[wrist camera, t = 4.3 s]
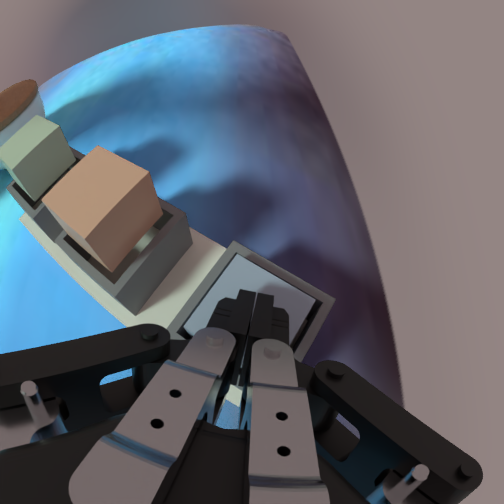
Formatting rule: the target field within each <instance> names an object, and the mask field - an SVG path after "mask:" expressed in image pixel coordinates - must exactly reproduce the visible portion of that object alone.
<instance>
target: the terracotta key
mask: <svg viewBox="0 0 504 504" xmlns="http://www.w3.org/2000/svg"><path fill="white" fill-rule="evenodd" d="M41 200H42V202H43V203H44V204H45V206H46V207H47V208H48V210H49V211H50V212H51V214H52V215H53V216H54V218H55V219H56V220H57V221H58V223H59V224H60V225H61V226H62V228H63V229H64V230H65V231H66V233H67V234H68V235H69V236H70V237H71V238H72V239H74V240H75V241H76V242H77V243H78V244H79V245H80V246H81V247H82V248H84V249H85V250H86V251H87V252H88V253H89V254H90V255H92V256H93V257H94V258H95V259H96V260H97V261H99V262H100V263H101V264H102V265H103V266H105V267H106V268H107V269H108V270H109V271H111V272H113V271H114V270H115V269H116V267H117V266H118V265H119V264H120V263H121V261H122V260H123V259H124V258H125V257H126V255H127V254H128V253H129V252H130V251H131V250H132V248H133V247H134V246H135V245H136V244H137V243H138V242H139V240H140V239H141V238H142V237H143V236H144V235H145V234H146V232H147V231H148V230H149V229H150V228H151V227H152V226H153V225H154V223H155V222H156V221H157V220H158V219H159V218H160V217H161V216H162V215H163V212H162V209H161V206H160V203H159V200H158V197H157V194H156V191H155V188H154V185H153V182H152V179H151V175H150V172H149V171H147V170H145V169H143V168H141V167H139V166H137V165H135V164H133V163H131V162H130V161H128V160H126V159H124V158H122V157H120V156H118V155H116V154H114V153H112V152H110V151H108V150H106V149H104V148H102V147H100V146H96V147H95V148H94V149H93V150H92V151H91V152H90V153H88V154H87V155H86V156H85V157H84V158H83V159H82V160H81V161H80V162H79V163H77V164H76V165H75V166H74V167H73V168H72V169H71V170H70V171H69V172H68V173H67V174H66V175H65V176H64V177H63V178H62V179H61V180H60V181H59V182H58V183H57V184H56V185H55V186H54V187H53V188H52V189H51V190H50V191H49V192H48V193H47V194H46V195H45V196H44V197H43V198H42V199H41Z"/></svg>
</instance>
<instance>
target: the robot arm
mask: <svg viewBox="0 0 504 504" xmlns="http://www.w3.org/2000/svg"><path fill="white" fill-rule="evenodd" d="M255 297H256V292H253V291H248V290H243V289H240V290H239V293H238V295H237V298H236V299H232V298H228V297H225V298H223V299H221V300H220V301H218V303H217V305H216V307H215V309H214V311H213V313H212V315H211V317H210V319H209V322H208V324H207V326H206V328H203V329H200V330H198V331H197V332H196V333H195V335H194V336H193V337H192V339H188V340H177V339H170V337H171V336H170V333H169V331H168V330H167V329H166V328H164V327H162V326H160V325H157V324H151V323H145V324H139V325H135V326H131V327H127V328H123V329H118V330H114V331H110V332H106V333H101V334H97V335H93V336H88V337H84V338H79V339H74V340H70V341H65V342H60V343H56V344H51V345H46V346H41V347H36V348H31V349H26V350H20V351H15V352H10V353H4V354H0V504H458V503H460V502H461V501H462V500H463V499H464V498H466V497H467V496H468V495H469V494H470V493H471V492H473V491H474V490H475V489H476V488H477V487H478V486H479V485H480V484H481V482H482V479H483V472H482V469H481V466H480V465H479V463H478V462H477V461H476V460H475V459H473V458H472V457H471V456H469V455H468V454H466V453H465V452H463V451H462V450H461V449H459V448H458V447H456V446H455V445H453V444H452V443H450V442H449V441H448V440H446V439H445V438H444V437H442V436H441V435H439V434H438V433H437V432H435V431H434V430H432V429H431V428H430V427H428V426H427V425H425V424H424V423H423V422H421V421H420V420H418V419H417V418H416V417H414V416H413V415H411V414H410V413H409V412H408V411H406V410H405V409H404V408H402V407H401V406H399V405H398V404H397V403H395V402H394V401H393V400H391V399H390V398H389V397H387V396H386V395H385V394H383V393H382V392H381V391H379V390H378V389H377V388H375V387H374V386H373V385H372V384H370V383H369V382H368V381H366V380H365V379H364V378H362V377H361V376H360V375H358V374H357V373H356V372H355V371H353V370H352V369H351V368H349V367H348V366H346V365H345V364H343V363H340V362H337V361H331V360H327V361H322V362H319V363H318V364H317V365H316V366H315V368H313V367H310V366H307V365H305V364H303V363H301V362H299V361H297V360H296V359H295V358H294V354H293V351H292V349H291V348H290V347H289V315H288V313H287V312H286V310H285V309H283V308H278V307H273V304H274V295H269V294H264V293H259V292H258V294H257V298H256V303H255V308H254V312H253V307H254V302H255ZM252 312H253V317H252ZM251 317H252V321H251ZM250 322H251V326H250ZM249 327H250V330H249ZM248 332H249V334H248ZM247 337H248V339H247ZM246 341H247V344H246ZM245 346H246V349H245ZM244 350H245V354H244ZM243 354H244V359H243ZM242 359H243V364H242V369H241V374H240V379H239V384H238V386H241V387H243V391H242V396H241V400H240V407H239V417H238V428H237V429H223V428H220V427H217V426H215V425H216V423H217V420H218V418H219V415H220V413H221V410H222V407H223V405H224V402H225V399H226V394H227V393H228V391H229V388H230V385H236V384H237V380H238V376H239V372H240V367H241V363H242ZM130 368H132V376H130V377H127V378H123V379H120V380H117V381H114V382H110V383H107V384H103V385H100V381H101V380H102V379H103V378H104V377H105V376H107V375H110V374H114V373H117V372H120V371H124V370H127V369H130ZM338 413H340V414H341V415H342V416H343V417H344V418H345V419H346V420H348V421H349V422H350V423H351V424H352V425H353V426H354V427H356V428H357V430H358V431H359V433H360V439H358V438H357V437H356V436H355V435H354V434H353V433H351V432H350V431H349V430H348V429H347V428H346V427H345V426H344V425H342V424H341V423H340V422H339V421H338V420H337V419H336V417H337V415H338Z"/></svg>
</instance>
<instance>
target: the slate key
mask: <svg viewBox="0 0 504 504" xmlns="http://www.w3.org/2000/svg"><path fill="white" fill-rule="evenodd" d="M240 289H243V290H248V291H253V292H256V297H255V302H254V307H253V312H254V308H255V303H256V298H257V294H258V292H259V293H264V294H269V295H274V304H273V307H278V308H283V309H285V310H286V312H287V313H288V315H289V345H290V344H291V342H292V340H293V339H294V337H295V335H296V333H297V332H298V330H299V328H300V327H301V325H302V323H303V321H304V320H305V318H306V316H307V314H308V313H309V311H310V309H311V307H312V306H313V304H314V302H315V300H316V299H314V298H312V297H310V296H309V295H307V294H305V293H303V292H302V291H300V290H298V289H297V288H295V287H293V286H291V285H290V284H288V283H286V282H284V281H283V280H281V279H279V278H278V277H276V276H274V275H272V274H271V273H269V272H267V271H266V270H264V269H262V268H260V267H259V266H257V265H255V264H254V263H252V262H250V261H248V260H247V259H245V258H243V257H242V256H240V255H238V254H237V255H236V256H235V257H234V259H233V260H232V262H231V263H230V264H229V266H228V267H227V268H226V270H225V271H224V272H223V274H222V275H221V276H220V278H219V279H218V280H217V282H216V283H215V284H214V286H213V287H212V288H211V290H210V291H209V293H208V294H207V295H206V297H205V298H204V299H203V301H202V302H201V303H200V305H199V306H198V307H197V309H196V310H195V312H194V313H193V314H192V316H191V317H190V318H189V320H188V321H187V322H186V324H185V325H184V328H185V330H186V331H187V332H188V334H189V335H190V336H191V338H192V337H193V336H194V335H195V333H196V332H197V331H198V330H200V329H203V328H206V326H207V324H208V322H209V319H210V317H211V315H212V313H213V311H214V309H215V307H216V305H217V303H218V301H220V300H221V299H223V298H225V297H228V298H232V299H236V298H237V295H238V293H239V290H240ZM253 312H252V317H253ZM252 317H251V321H252ZM250 326H251V322H250ZM249 330H250V327H249ZM248 334H249V332H248ZM247 339H248V337H247ZM246 344H247V341H246ZM245 349H246V346H245ZM244 354H245V350H244ZM244 354H243V359H244ZM243 359H242V363H241V367H240V372H241V369H242V364H243Z"/></svg>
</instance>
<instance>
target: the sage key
mask: <svg viewBox="0 0 504 504" xmlns="http://www.w3.org/2000/svg"><path fill="white" fill-rule="evenodd" d="M0 160H1V162H2V163H3V165H4V166H5V168H6V169H7V170H8V172H9V173H10V175H11V176H12V178H13V179H14V180H15V182H16V183H17V184H18V185H19V186H20V187H21V188H22V189H23V190H24V191H25V192H26V193H27V194H28V195H29V196H30V197H31V198H32V199H33V200H34V201H36V200H37V199H38V198H39V197H40V196H41V195H42V194H43V193H44V192H45V191H46V189H47V188H48V187H49V186H50V185H51V184H52V183H53V182H54V181H55V180H56V179H57V178H58V177H59V176H60V175H61V174H62V173H63V172H64V171H65V170H66V169H68V168H69V167H70V166H71V165H72V164H73V163H74V162H75V161H76V159H75V157H74V155H73V153H72V151H71V149H70V147H69V145H68V143H67V141H66V139H65V136H64V134H63V132H62V130H61V128H60V126H59V125H57V124H55V123H53V122H51V121H49V120H47V119H45V118H43V117H41V116H38V115H36V116H34V117H33V118H32V119H31V120H30V121H29V122H27V123H26V124H25V125H24V126H23V127H22V128H21V129H20V130H18V131H17V132H16V133H15V134H14V135H13V136H12V137H11V138H10V139H9V140H8V141H7V142H6V143H5V144H4V145H3V146H2V147H1V148H0Z"/></svg>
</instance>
